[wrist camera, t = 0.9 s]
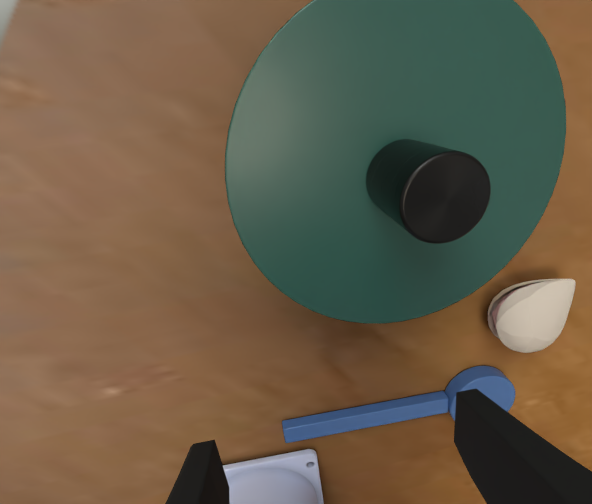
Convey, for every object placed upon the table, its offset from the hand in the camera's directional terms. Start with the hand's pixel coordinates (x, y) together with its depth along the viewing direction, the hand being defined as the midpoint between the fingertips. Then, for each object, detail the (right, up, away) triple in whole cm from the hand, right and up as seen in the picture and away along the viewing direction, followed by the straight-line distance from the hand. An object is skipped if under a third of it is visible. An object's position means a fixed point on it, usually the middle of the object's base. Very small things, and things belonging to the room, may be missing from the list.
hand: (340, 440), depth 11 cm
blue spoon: (+5, -4, +13) cm, 14 cm away
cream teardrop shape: (+12, +3, +11) cm, 16 cm away
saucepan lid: (+2, +8, +1) cm, 8 cm away
